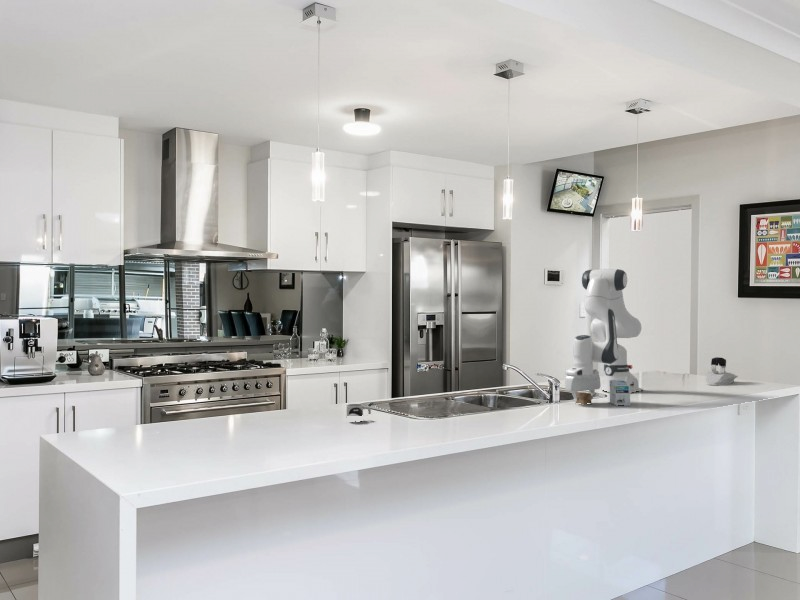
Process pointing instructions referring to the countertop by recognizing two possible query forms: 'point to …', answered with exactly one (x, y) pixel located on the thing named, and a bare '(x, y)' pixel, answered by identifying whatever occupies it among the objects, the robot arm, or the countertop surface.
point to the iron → (719, 373)
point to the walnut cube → (584, 398)
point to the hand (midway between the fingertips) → (583, 400)
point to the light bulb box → (620, 392)
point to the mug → (356, 409)
